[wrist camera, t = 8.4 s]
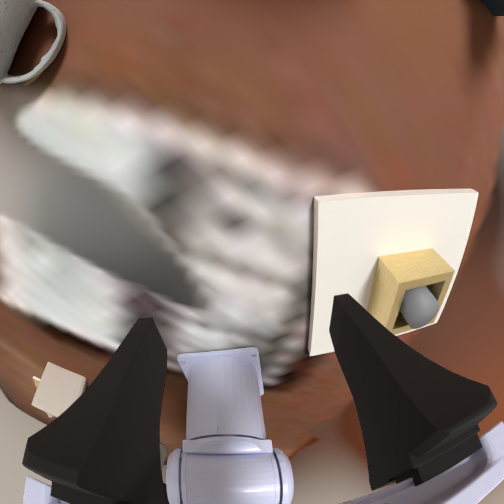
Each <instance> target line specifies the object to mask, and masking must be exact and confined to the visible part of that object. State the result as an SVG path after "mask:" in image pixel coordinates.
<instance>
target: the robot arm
mask: <svg viewBox="0 0 504 504" xmlns="http://www.w3.org/2000/svg"><path fill="white" fill-rule="evenodd" d="M329 333H330V336H331V340H332V344H333V347H334V351H335V354H336V356H337V359H338V361H339V363H340V366H341V368H342V371H343V373H344V376H345V378H346V381H347V383H348V386H349V388H350V391H351V393H352V396H353V399H354V401H355V405H356V409H357V412H358V417H359V420H360V425H361V429H362V434H363V439H364V444H365V450H366V456H367V463H368V471H369V482H370V486H371V489H372V490H375V489H378V488H381V487H383V486H386V485H389V484H391V483H394V482H396V484H395V485H393V486H391V487H388V488H385V489H383V490H380V491H378V492H375V493H372V494H369V495H366V496H363V497H360V498H357V499H354V500H350V501H348V502H344V503H340V504H477V503H478V502H479V501H480V500H482V499H483V498H484V497H485V496H486V495H487V494H488V493H489V492H490V491H491V490H492V489H493V488H495V486H497V485H498V484H499V483H500V482H501V481H502V480H503V479H504V424H503V422H502V421H501V422H499V423H498V424H497V425H495V426H494V427H493V428H491V429H490V430H489V431H487V432H486V433H485V434H483V435H482V436H481V437H478V435H477V433H478V432H479V431H480V428H479V426H478V423H479V422H480V421H482V420H483V419H484V418H485V417H486V416H487V415H488V414H489V413H490V412H492V410H494V408H495V407H496V406H497V401H496V399H495V397H494V395H493V394H492V392H491V390H490V388H489V387H488V386H487V385H484V384H481V383H478V382H475V381H472V380H470V379H467V378H465V377H462V376H460V375H458V374H455V373H453V372H451V371H449V370H447V369H445V368H443V367H441V366H440V365H438V364H436V363H434V362H432V361H431V360H429V359H427V358H426V357H424V356H423V355H421V354H420V353H418V352H417V351H415V350H414V349H412V348H411V347H409V346H408V345H407V344H405V343H404V342H403V341H401V340H400V339H399V338H398V337H396V336H395V335H394V334H393V333H391V332H390V331H389V330H388V329H387V328H386V327H384V326H383V325H382V324H381V323H380V322H379V321H378V320H376V319H375V318H374V317H373V316H372V315H371V314H370V313H369V312H368V311H367V310H366V309H365V308H363V307H362V306H361V305H360V304H359V303H358V302H357V301H356V300H355V299H354V298H353V297H352V296H351V295H349V294H348V293H347V294H341V295H335V296H334V299H333V306H332V313H331V320H330V327H329ZM177 361H178V363H179V365H180V367H181V369H182V371H183V373H184V375H185V377H186V378H187V380H188V396H187V418H186V440H183V448H182V449H179V448H176V449H175V450H174V451H173V452H172V453H171V454H170V455H169V457H168V461H167V471H166V486H167V496H168V500H169V503H170V504H291V500H292V498H293V490H294V482H293V474H292V469H291V465H290V462H289V459H288V457H287V456H286V455H285V454H284V453H283V452H282V451H281V450H280V449H279V448H272V441H271V440H266V434H265V427H264V419H263V412H262V405H261V397H260V396H261V395H263V394H264V390H263V382H262V375H261V367H260V360H259V352H258V348H256V347H247V348H239V349H230V350H220V351H210V352H198V353H183V354H178V355H177ZM166 370H167V349H166V347H165V344H164V342H163V340H162V338H161V336H160V334H159V332H158V329H157V327H156V325H155V323H154V320H153V318H139V319H138V320H137V321H136V323H135V324H134V326H133V327H132V328H131V330H130V331H129V333H128V334H127V336H126V337H125V339H124V340H123V342H122V343H121V345H120V346H119V347H118V349H117V350H116V352H115V353H114V355H113V356H112V357H111V359H110V360H109V362H108V363H107V364H106V366H105V367H104V368H103V370H102V371H101V372H100V374H99V375H98V376H97V378H96V379H95V380H94V381H93V382H92V384H91V385H90V386H89V387H88V388H87V389H86V390H85V391H84V393H83V394H82V395H81V396H80V397H79V398H78V399H77V400H76V401H75V402H74V403H73V404H72V405H71V406H70V407H69V408H67V409H66V410H65V411H64V412H63V413H62V414H61V415H60V416H58V417H57V418H56V419H55V420H54V421H52V422H51V423H50V424H48V425H47V426H46V427H44V428H43V429H41V430H40V431H38V432H37V433H35V434H34V435H32V436H31V437H29V438H28V441H27V445H26V449H25V453H24V458H23V463H22V464H23V465H24V466H25V467H26V468H28V469H29V470H31V471H33V472H35V473H37V474H39V475H41V476H42V477H44V478H46V479H48V480H51V481H52V486H50V485H48V484H45V483H43V482H41V481H39V480H37V479H34V478H32V477H30V476H27V478H26V484H25V491H24V499H23V504H167V502H166V497H165V492H164V486H163V480H162V470H161V459H160V415H161V407H162V400H163V393H164V386H165V379H166Z"/></svg>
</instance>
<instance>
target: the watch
mask: <svg viewBox="0 0 504 504" xmlns="http://www.w3.org/2000/svg"><path fill="white" fill-rule="evenodd" d="M481 1H482V2H483V4H484V5H485V6H486V7H487V8H488V9H489V10H490V12H491V13H492V14H493V15H494V16H504V0H481Z"/></svg>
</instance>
